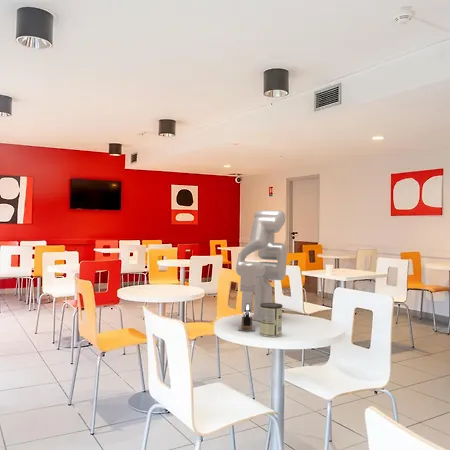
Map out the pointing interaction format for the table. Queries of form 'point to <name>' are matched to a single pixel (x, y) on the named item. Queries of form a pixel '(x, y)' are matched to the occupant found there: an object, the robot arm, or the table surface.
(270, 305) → the coffee can
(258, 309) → the robot arm
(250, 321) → the walnut block
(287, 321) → the table surface
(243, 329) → the slate coaster
